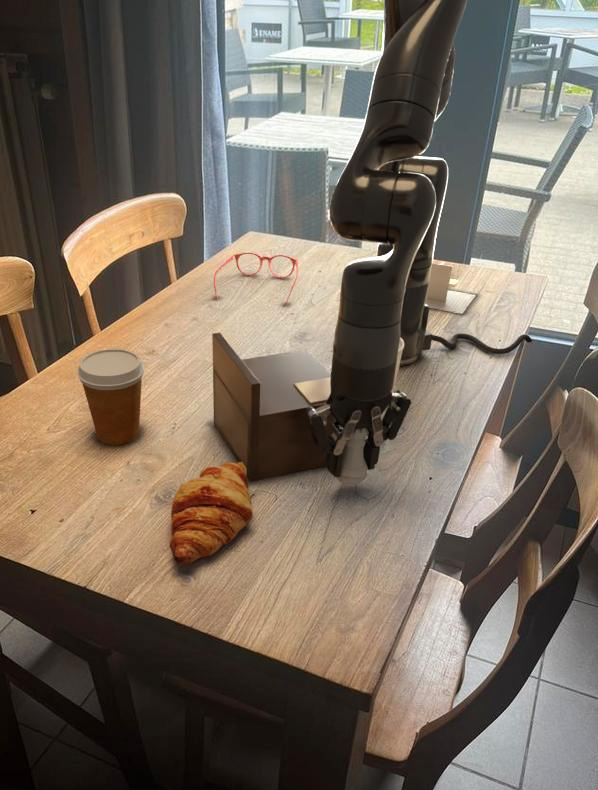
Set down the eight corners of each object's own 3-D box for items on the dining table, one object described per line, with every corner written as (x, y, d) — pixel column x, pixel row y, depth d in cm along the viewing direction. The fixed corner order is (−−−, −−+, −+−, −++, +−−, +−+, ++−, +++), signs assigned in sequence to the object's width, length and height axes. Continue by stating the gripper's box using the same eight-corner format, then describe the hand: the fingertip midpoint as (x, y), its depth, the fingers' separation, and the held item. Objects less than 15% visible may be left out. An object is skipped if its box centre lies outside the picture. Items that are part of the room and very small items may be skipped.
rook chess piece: (366, 488, 94) (373, 436, 89) (331, 484, 94) (337, 432, 89) (368, 468, 97) (375, 417, 92) (335, 464, 98) (340, 414, 93)
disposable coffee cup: (79, 425, 111) (68, 353, 104) (139, 412, 114) (132, 342, 107) (95, 457, 104) (85, 383, 97) (158, 442, 107) (152, 370, 100)
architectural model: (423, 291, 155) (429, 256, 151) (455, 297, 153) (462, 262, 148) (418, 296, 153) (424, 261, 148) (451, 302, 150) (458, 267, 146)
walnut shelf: (303, 407, 115) (308, 319, 107) (348, 461, 103) (359, 366, 94) (213, 423, 111) (212, 333, 102) (249, 481, 99) (251, 384, 90)
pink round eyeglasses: (303, 278, 161) (305, 256, 158) (291, 306, 149) (293, 282, 146) (228, 272, 164) (228, 250, 161) (210, 298, 152) (209, 275, 149)
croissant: (220, 492, 103) (194, 445, 100) (282, 476, 98) (257, 426, 95) (161, 589, 86) (128, 537, 83) (232, 576, 81) (199, 520, 78)
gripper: (323, 376, 80) (313, 497, 90) (435, 356, 84) (413, 475, 94) (296, 347, 86) (290, 464, 96) (402, 329, 89) (385, 444, 100)
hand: (351, 469), depth 95 cm, fingers closed on rook chess piece, 4 cm apart
